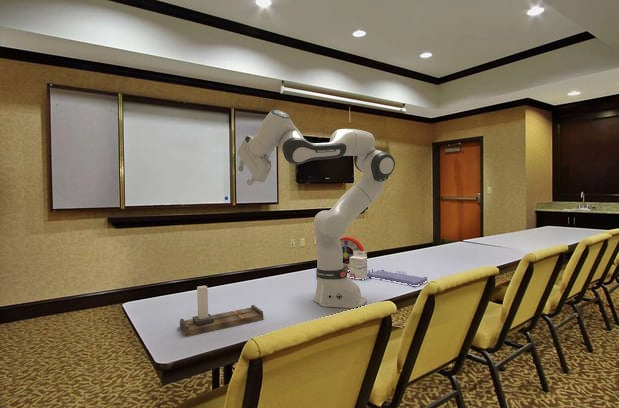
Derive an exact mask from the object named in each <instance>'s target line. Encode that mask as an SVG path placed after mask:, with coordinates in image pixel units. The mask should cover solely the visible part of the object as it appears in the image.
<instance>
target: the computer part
mask: <svg viewBox="0 0 619 408" xmlns="http://www.w3.org/2000/svg"><path fill="white" fill-rule="evenodd" d="M368 277H375V278H380V279H385V280H390V281H396V282H401V283H407V284H411V285H418V284H421V283H423V282H425V281H427V282H428V276H423V277H422V276H416V275H408V274H405V271H402V273H401V271H400V270H398V272H392V271H386V270H384V269H379V270H376V271H375V270H374V269H373V268H372V269H371V271H370V269H369V270H368V272H367V278H368Z"/></svg>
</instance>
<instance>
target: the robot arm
mask: <svg viewBox="0 0 619 408" xmlns="http://www.w3.org/2000/svg"><path fill="white" fill-rule="evenodd" d="M243 139H244V140H242V142H241V143H240V146H239V147H238V150H237V155H238V156H239V158H240V159H239V164H238V167H237V170H238V172H241V173H242V172H243V171H244V170H245V167H246V168H247V170H248V171H249V173H250V174H251V178H250V179H249V178H248V179H247V181H246V183H247V185H248V186H252V185H253V184H254V183H256V182H258V183H264V182H266V180H267V178H268V176H269V175H270V173H271V170H272V161H271V160H270V157H271V155H272V154H273V152H274V150H275V149H276V147H279V148H280V150H281V151H282V154H283V156H284V159H285V161H287V162H288V163H289V164H292V165H301V164H305V163H307V162H312V161H320V160H321V161H322V160H332V159H339V158H342V157H345V156H346V157H347V156H348V157H351V156H352V157H353V164H354V166H355V168H356V169H357V170H358V171H359V172H361V173H363V174H362V176H361V179H359V181H358V182H356V183H355V184H354V185H353V186H352V187H350V188H349V189H348V190H347V191H346V192H344V193H343V194H342V195H341V196H340V197H339V198H338V201H336V203H335V204H334V205H333V206H331V208H330V209H329V210H328V209H327V210H321V211H319V212H318V213H316V214H315V216H314V218H313V227H314V236H315V237H314V239H315V244H316V256H317V257H316V259H317V261H316V263H317V267H316V272H315V273H316V274H315V277H316V289H315V295H314V299H313V301H314V302H315V303H316V304H318V305H319V306H321V307H325V308H326V307H327V308H341V309H343V308H344V309H345V308H346V309H357V308H356V307H359V308H361V307H360V306H362V307H363V306H365V304H366V303H367V298H366V296H362V292H361V289H360V286H359V285H358V284H357V283H356V282H354V281H353V279H350V277H348V273H349V272H348V269H347V270H345V269H344V268H343V250H342V247H341V242H340V239H341V238H340V237H342V236H344V235H345V233H346V231H347V230H348V229H349V228H350V226H351V224H352V223H354V221H355V220H356V218H357V217H358V216H359V215H361V213H363V211H366V209H367V208H368V207H369V206H370V205H371V204H373V203H374V202H375V201H376V200H377V198H378V197H379V196H380V195H381V194H382V192H383V191H384V189H385V182H386V181H387V180H388V179H389V177H390V176H391V175H392V173H394V169H395V167H396V160H395V158H394V157H393V155H392V154H390V153H389V152H386V151H382V150H379V149H376V147H375V146H376V139H375V136H374V134H372V133H371V132H368V131H366V130H361V129H356V128H340V129H336V130H335V131H334V132H333V133H332V134H331V135H330V139H329V142H319V143H318V142H317V143H313V142H310V141H308V140H307V139H305V137H304V136H303V134H302V133H301V131H300V130H299V129H298V128H297V127H296V126H295V124H294V123H293V121H292V119H291V116H290V115H289V114H287V112H284V111H282V110H280V109H273V110H271V111H269V113H268V114H267V115H266V117H264V119H263V121H262V122H261V124H260V126H259V128H258V132H257V133H256V134H255V135H253V136H252V135H248V134H246V135H245V136H244V138H243ZM244 166H245V167H244ZM347 272H348V273H347Z"/></svg>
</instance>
